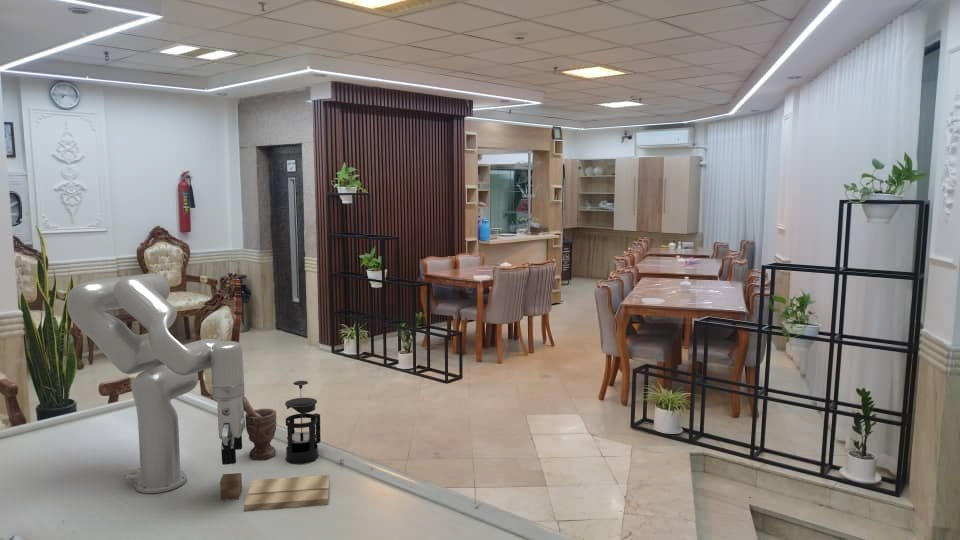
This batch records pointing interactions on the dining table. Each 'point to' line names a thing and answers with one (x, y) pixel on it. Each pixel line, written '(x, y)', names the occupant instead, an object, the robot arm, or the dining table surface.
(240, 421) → the robot arm
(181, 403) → the dining table surface
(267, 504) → the laid board
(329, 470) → the dining table surface
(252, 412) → the mortar and pestle
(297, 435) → the french press
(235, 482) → the walnut block
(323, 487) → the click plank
